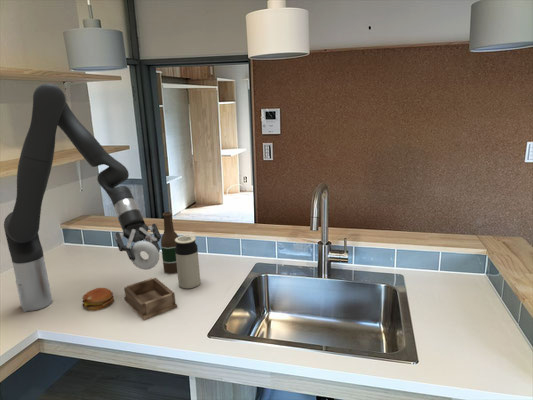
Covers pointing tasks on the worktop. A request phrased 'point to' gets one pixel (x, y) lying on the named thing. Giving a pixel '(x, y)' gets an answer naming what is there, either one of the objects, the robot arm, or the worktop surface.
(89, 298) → the burger
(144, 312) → the walnut stand
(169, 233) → the beer bottle
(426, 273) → the worktop surface
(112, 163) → the robot arm
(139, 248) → the donut
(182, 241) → the travel mug
